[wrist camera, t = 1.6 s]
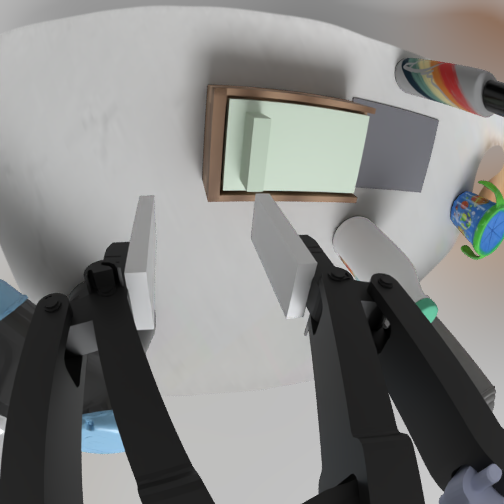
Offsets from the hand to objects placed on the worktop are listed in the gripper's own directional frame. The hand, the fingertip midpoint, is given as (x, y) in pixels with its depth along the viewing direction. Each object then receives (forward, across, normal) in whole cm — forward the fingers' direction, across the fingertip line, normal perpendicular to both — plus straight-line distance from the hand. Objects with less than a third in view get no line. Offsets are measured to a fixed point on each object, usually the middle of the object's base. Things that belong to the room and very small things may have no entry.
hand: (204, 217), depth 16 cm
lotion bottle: (+23, -30, -12) cm, 40 cm away
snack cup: (+23, -52, +9) cm, 57 cm away
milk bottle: (+23, -26, +15) cm, 38 cm away
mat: (+23, -30, 0) cm, 37 cm away
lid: (+17, -12, 0) cm, 21 cm away
